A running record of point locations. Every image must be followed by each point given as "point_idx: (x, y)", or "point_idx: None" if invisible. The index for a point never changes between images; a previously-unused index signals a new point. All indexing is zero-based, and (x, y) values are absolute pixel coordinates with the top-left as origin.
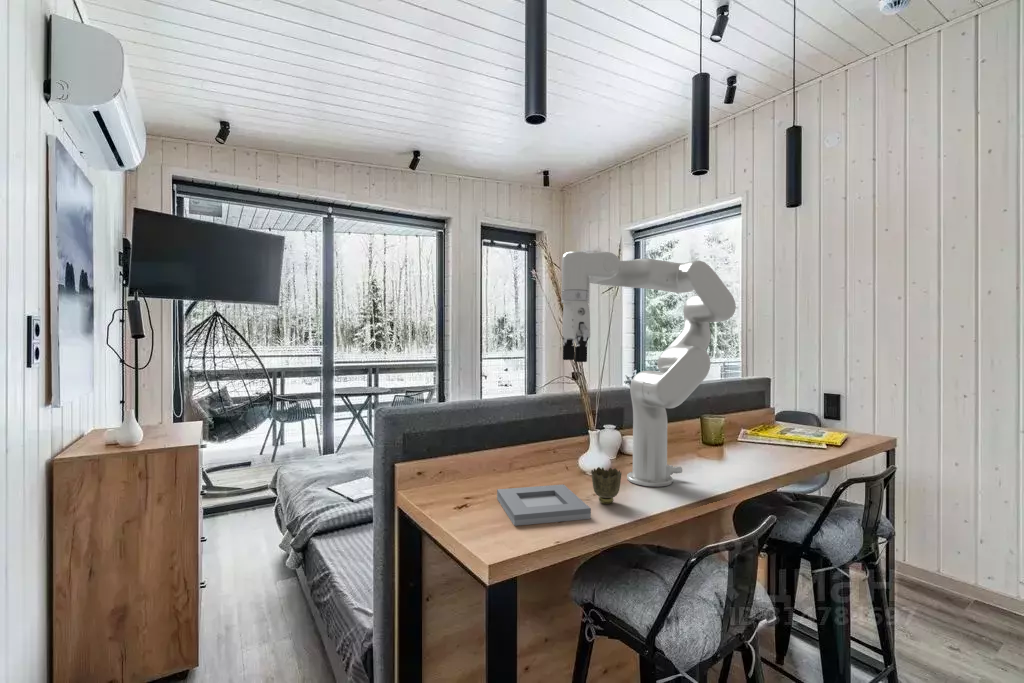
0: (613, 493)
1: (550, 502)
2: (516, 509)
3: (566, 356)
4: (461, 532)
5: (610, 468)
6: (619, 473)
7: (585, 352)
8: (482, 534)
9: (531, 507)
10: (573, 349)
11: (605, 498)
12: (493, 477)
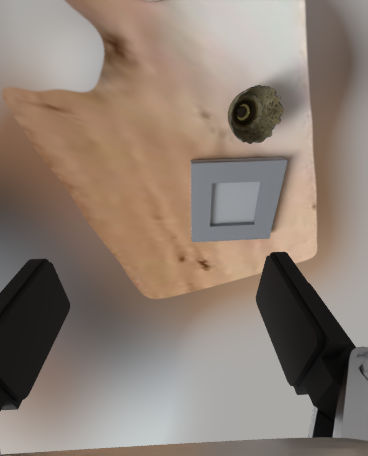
0: (266, 109)
1: (234, 192)
2: (256, 234)
3: (57, 312)
4: (260, 268)
5: (239, 97)
6: (257, 86)
7: (313, 304)
8: None
9: (257, 220)
10: (4, 327)
11: (251, 117)
12: (112, 229)
